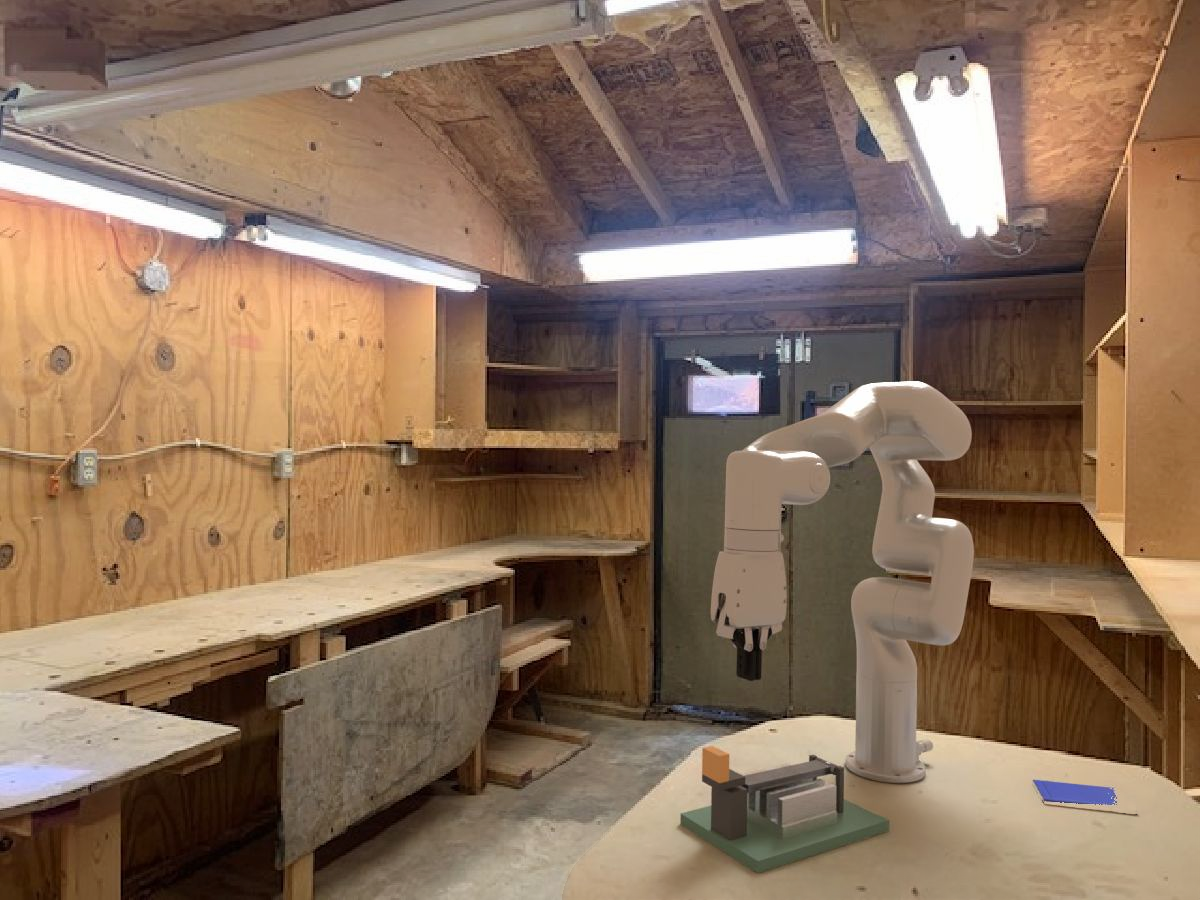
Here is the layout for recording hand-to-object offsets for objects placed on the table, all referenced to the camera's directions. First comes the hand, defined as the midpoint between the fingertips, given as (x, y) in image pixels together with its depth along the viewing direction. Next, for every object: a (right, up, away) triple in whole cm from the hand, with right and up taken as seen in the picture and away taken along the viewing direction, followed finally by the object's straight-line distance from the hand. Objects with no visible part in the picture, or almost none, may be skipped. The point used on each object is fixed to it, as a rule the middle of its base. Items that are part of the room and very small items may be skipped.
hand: (748, 677), depth 116 cm
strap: (+6, -15, +4) cm, 17 cm away
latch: (-4, -13, -2) cm, 14 cm away
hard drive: (+54, -23, +15) cm, 60 cm away
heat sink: (+6, -20, +4) cm, 21 cm away
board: (+6, -22, +4) cm, 23 cm away
